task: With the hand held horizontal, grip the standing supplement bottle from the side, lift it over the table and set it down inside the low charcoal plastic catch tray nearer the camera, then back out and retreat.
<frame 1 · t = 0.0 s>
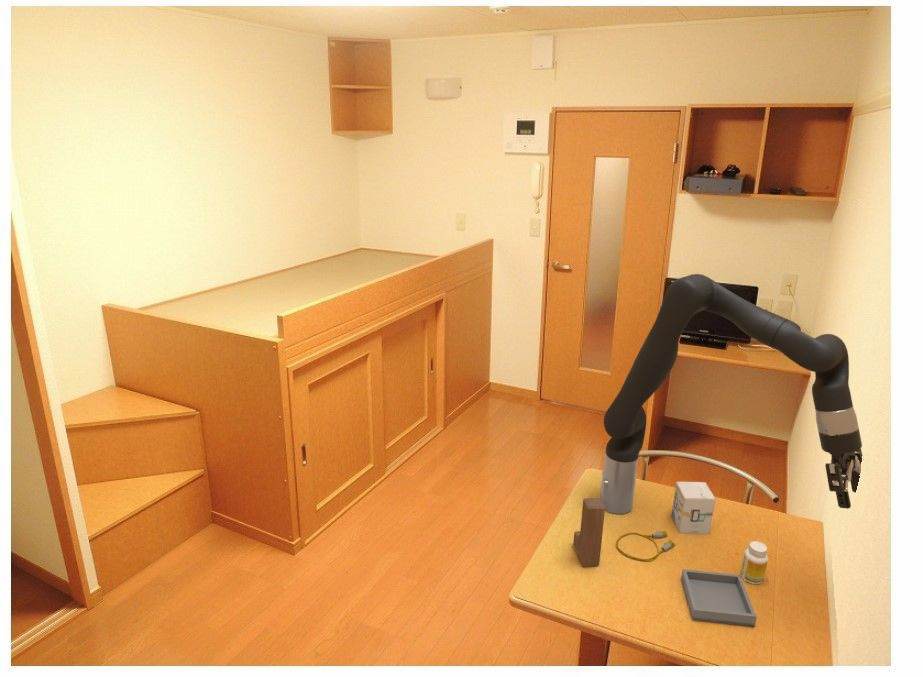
hand: (851, 499, 132), 31 cm above the table, tool tilted 20°, fingers open, 8 cm apart
ink box: (689, 524, 175), on the table
catch tray: (715, 601, 147), on the table
supplement bottle: (751, 578, 154), on the table
wooden block: (585, 556, 162), on the table
extension cord: (644, 548, 165), on the table
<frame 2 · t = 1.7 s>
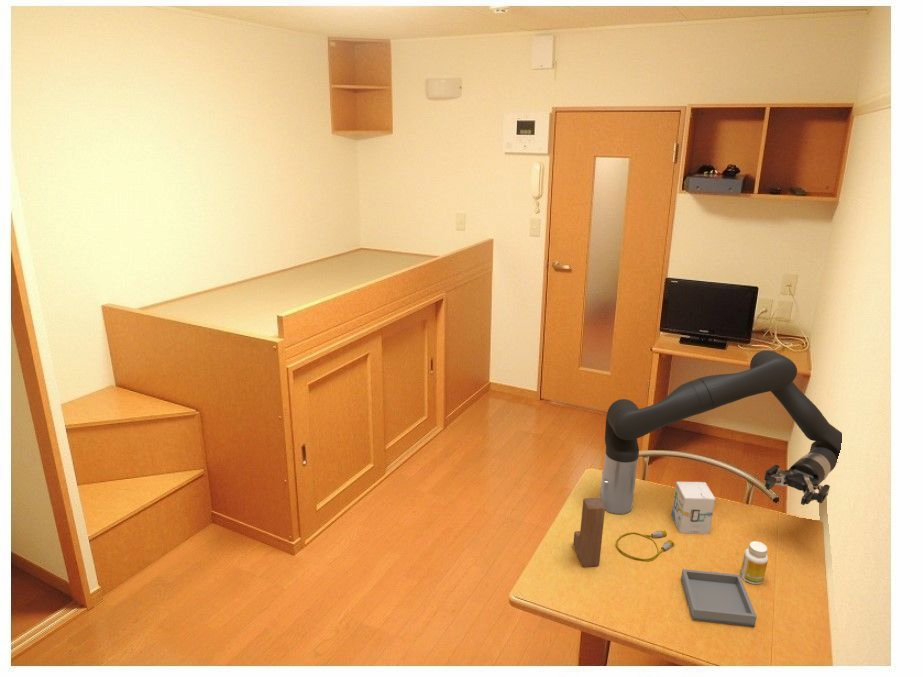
hand: (784, 493, 155), 20 cm above the table, tool horizontal, fingers open, 8 cm apart
nothing on the table moved.
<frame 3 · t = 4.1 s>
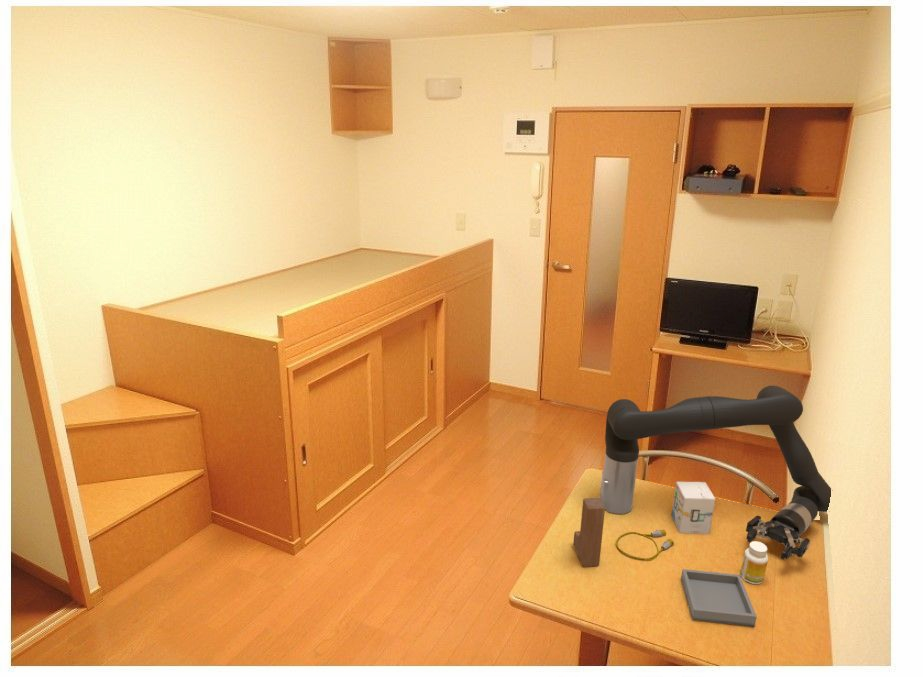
hand: (765, 547, 156), 6 cm above the table, tool horizontal, fingers open, 8 cm apart
nothing on the table moved.
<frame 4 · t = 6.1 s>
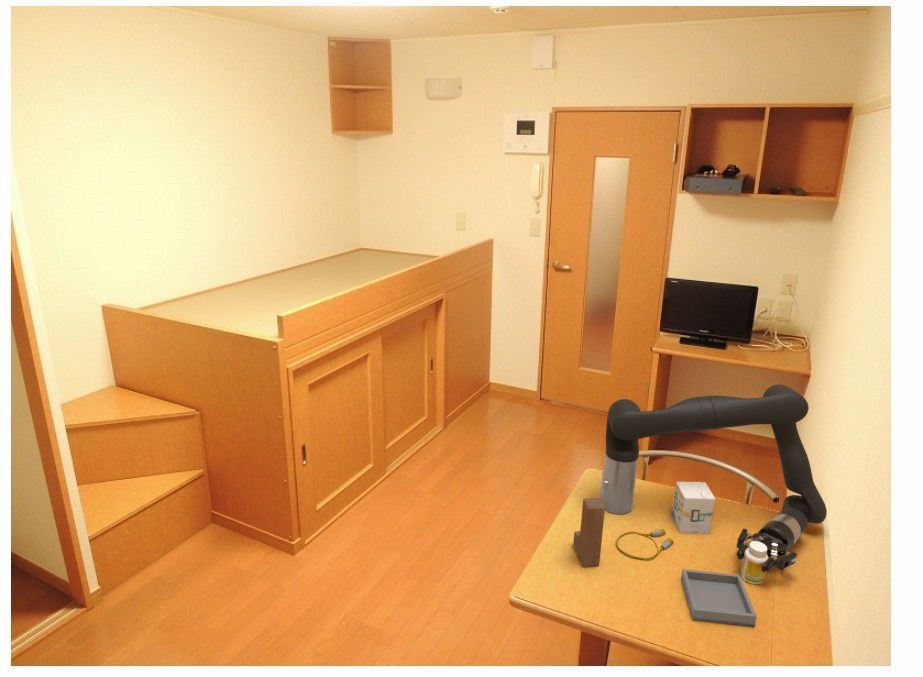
hand: (751, 562, 151), 6 cm above the table, tool horizontal, fingers closed on supplement bottle, 5 cm apart
supplement bottle: (751, 578, 154), on the table, touching gripper
everything else where it was.
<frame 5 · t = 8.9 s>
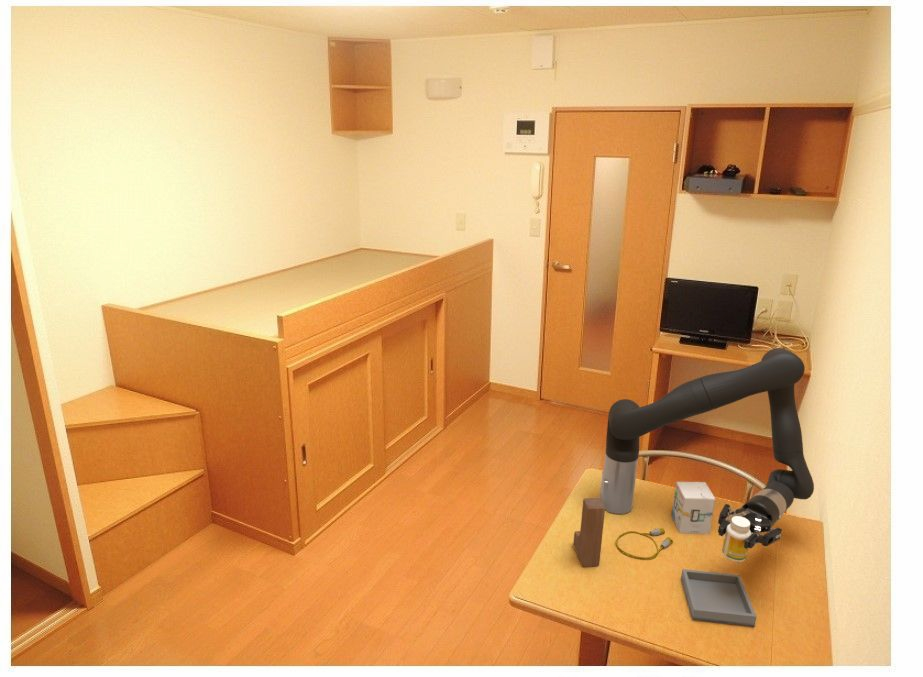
hand: (733, 538, 141), 18 cm above the table, tool horizontal, fingers closed on supplement bottle, 5 cm apart
supplement bottle: (733, 555, 145), point 11 cm above the table, touching gripper
everything else where it was.
when the fingers open (8 cm above the table, at t = 11.7 s): supplement bottle stays where it is, resting on catch tray.
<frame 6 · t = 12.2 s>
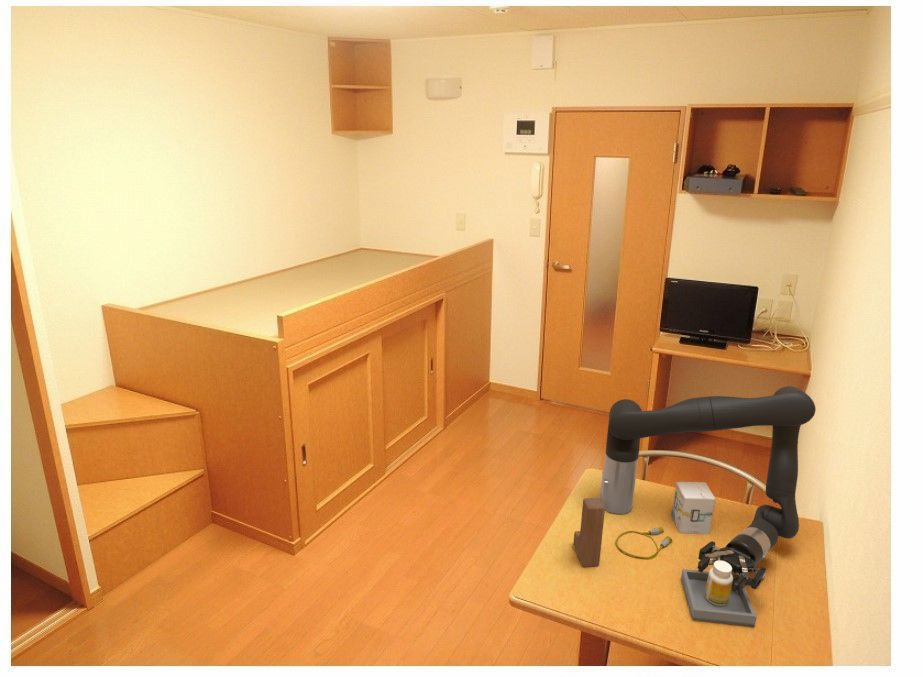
hand: (717, 578, 143), 8 cm above the table, tool horizontal, fingers open, 8 cm apart
supplement bottle: (716, 599, 146), point 1 cm above the table, touching catch tray
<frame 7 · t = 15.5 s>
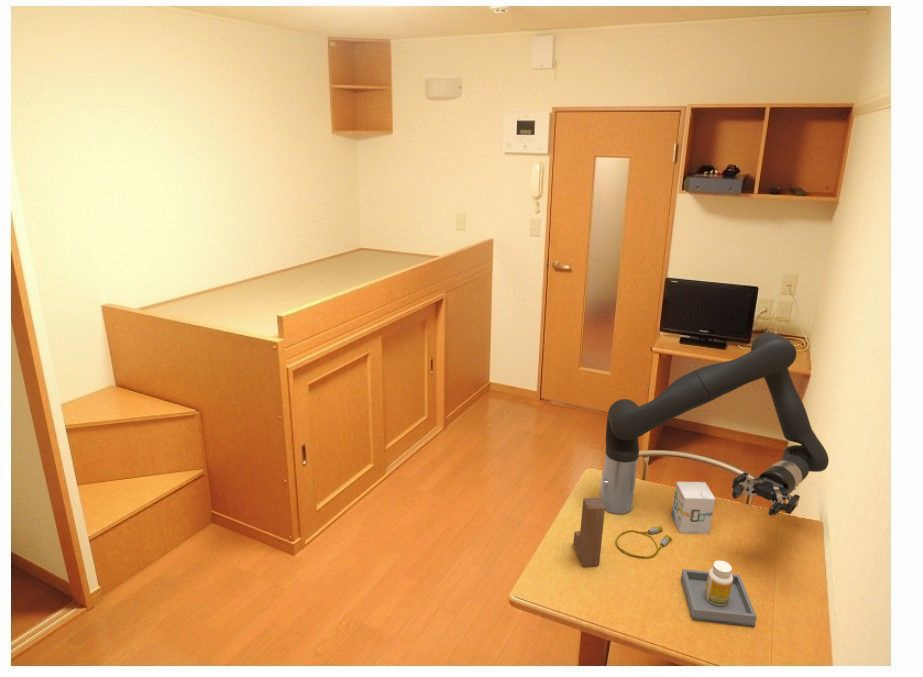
hand: (752, 503, 146), 23 cm above the table, tool horizontal, fingers open, 8 cm apart
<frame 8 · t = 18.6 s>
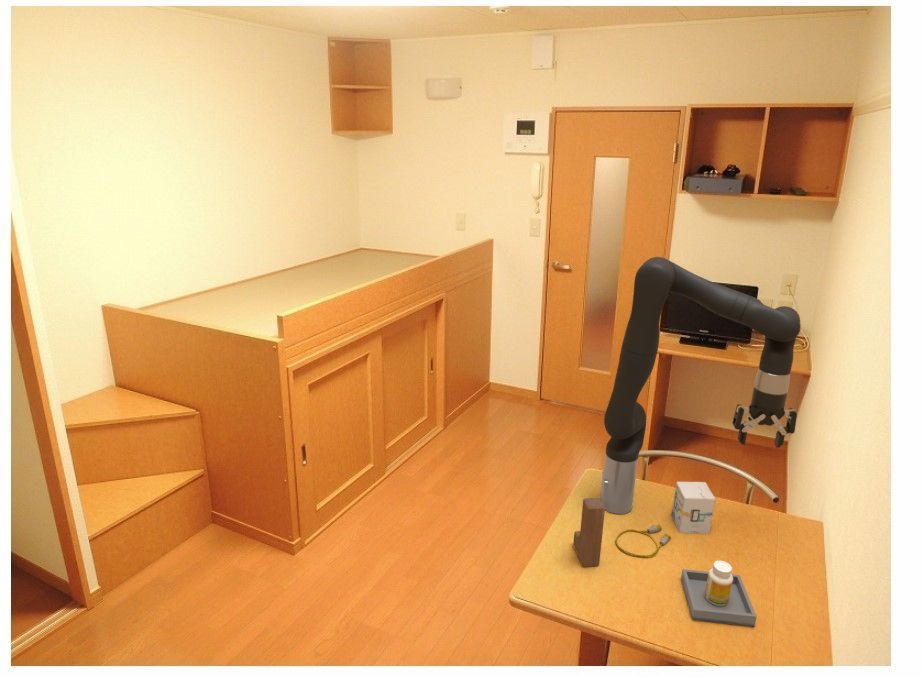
hand: (759, 444, 157), 30 cm above the table, tool pointing down, fingers open, 8 cm apart
at the end: supplement bottle inside the target area on the catch tray (0.1 cm from its centre), point 0.6 cm above the catch tray's base; the gripper is holding nothing; supplement bottle tilted 0° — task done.
